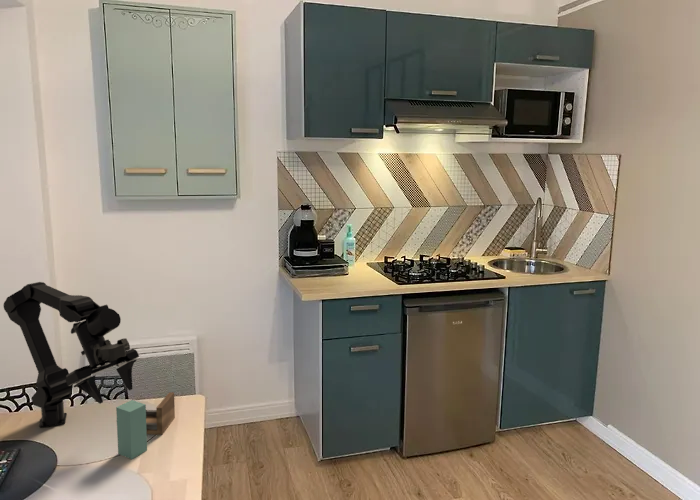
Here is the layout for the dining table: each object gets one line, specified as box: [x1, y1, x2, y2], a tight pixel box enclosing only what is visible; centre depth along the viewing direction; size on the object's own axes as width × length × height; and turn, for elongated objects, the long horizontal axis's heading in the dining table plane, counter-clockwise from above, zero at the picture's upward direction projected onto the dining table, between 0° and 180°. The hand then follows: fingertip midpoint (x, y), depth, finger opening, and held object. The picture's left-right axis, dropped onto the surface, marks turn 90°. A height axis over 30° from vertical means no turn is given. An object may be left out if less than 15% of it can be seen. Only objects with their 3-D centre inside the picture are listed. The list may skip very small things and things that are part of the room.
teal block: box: [115, 399, 148, 460], centre depth 141 cm, size 5×5×13 cm
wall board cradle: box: [146, 391, 176, 436], centre depth 156 cm, size 9×10×8 cm
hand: (116, 396), depth 142 cm, fingers open, 9 cm apart
